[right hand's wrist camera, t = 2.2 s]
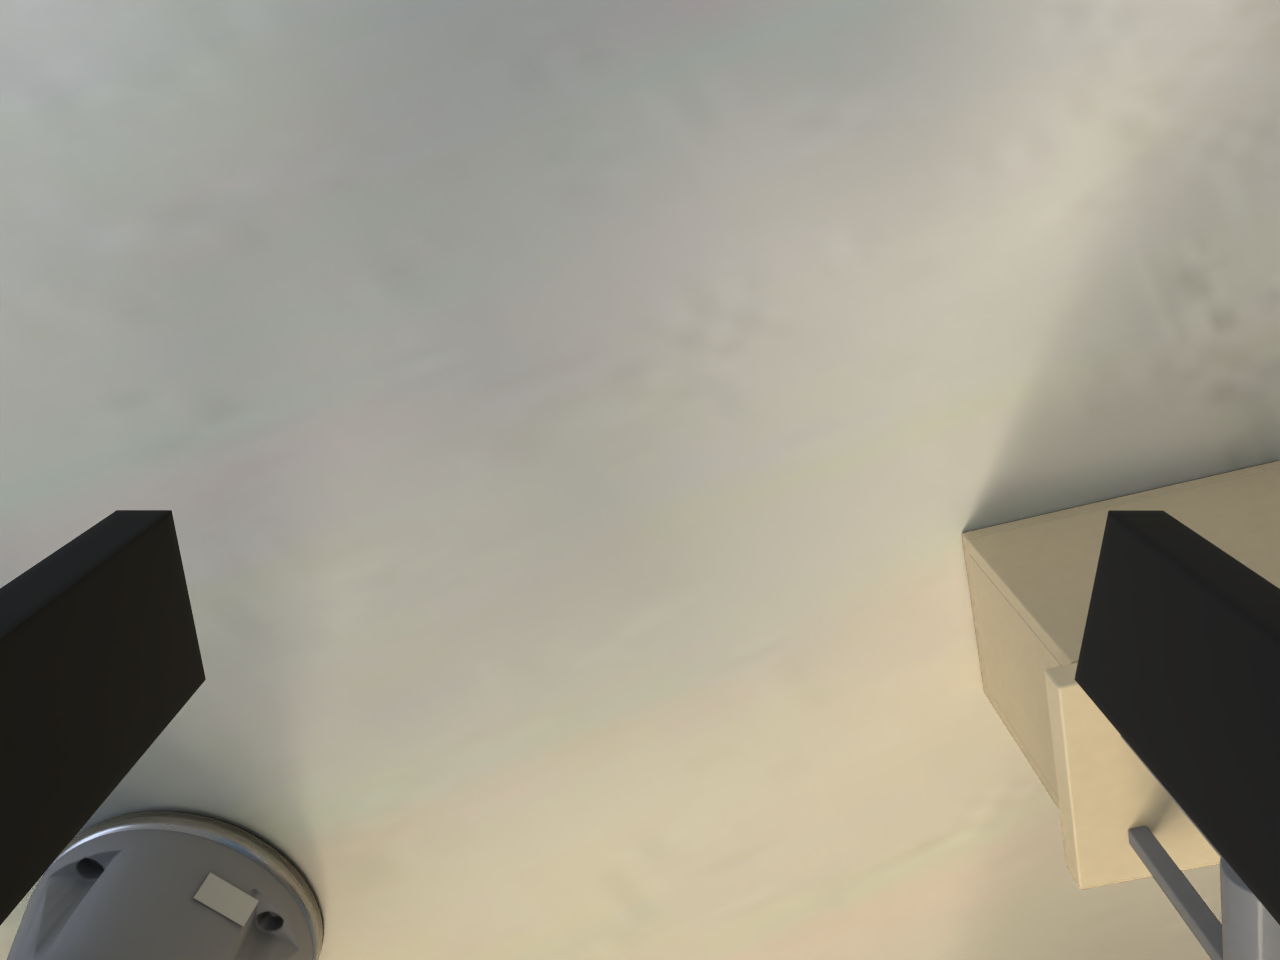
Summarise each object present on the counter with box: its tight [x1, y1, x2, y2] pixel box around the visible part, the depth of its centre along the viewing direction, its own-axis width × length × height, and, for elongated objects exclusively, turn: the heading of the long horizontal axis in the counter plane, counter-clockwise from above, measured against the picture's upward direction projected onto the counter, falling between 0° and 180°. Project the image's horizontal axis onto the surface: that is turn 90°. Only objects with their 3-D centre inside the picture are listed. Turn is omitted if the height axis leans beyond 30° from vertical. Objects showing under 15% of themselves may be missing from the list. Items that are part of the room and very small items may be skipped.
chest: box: [962, 461, 1280, 810], centre depth 36 cm, size 14×9×11 cm, turn 104°
